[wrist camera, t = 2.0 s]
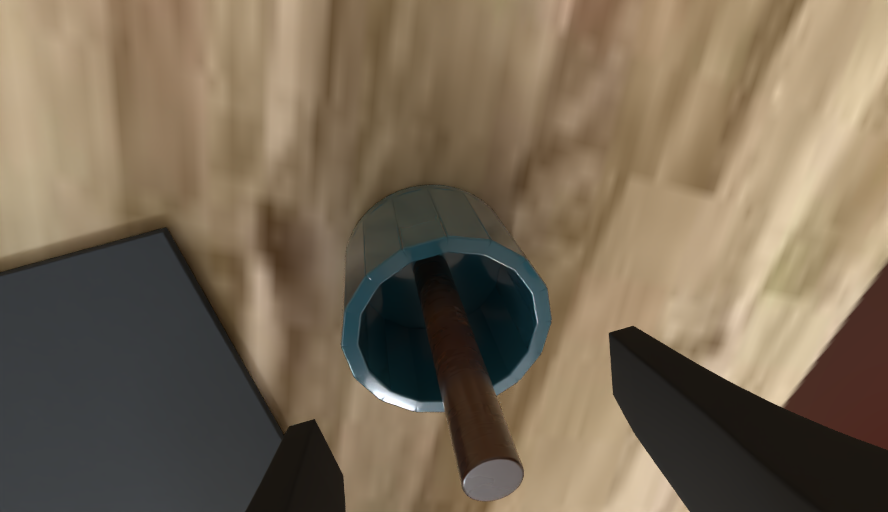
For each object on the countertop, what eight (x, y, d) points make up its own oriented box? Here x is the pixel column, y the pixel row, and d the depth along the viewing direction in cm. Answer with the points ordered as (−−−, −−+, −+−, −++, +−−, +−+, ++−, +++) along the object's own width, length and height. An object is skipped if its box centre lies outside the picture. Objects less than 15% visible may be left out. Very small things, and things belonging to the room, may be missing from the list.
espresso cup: (519, 306, 20) (560, 380, 16) (373, 348, 19) (377, 434, 15) (493, 163, 17) (537, 210, 13) (320, 211, 16) (309, 274, 12)
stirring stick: (451, 279, 18) (528, 491, 10) (418, 288, 18) (468, 509, 10) (443, 249, 17) (519, 450, 9) (409, 259, 17) (455, 469, 9)
